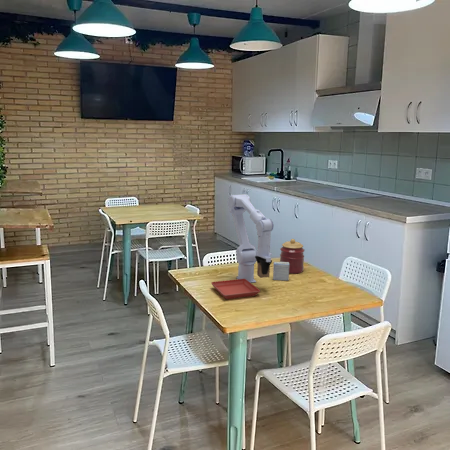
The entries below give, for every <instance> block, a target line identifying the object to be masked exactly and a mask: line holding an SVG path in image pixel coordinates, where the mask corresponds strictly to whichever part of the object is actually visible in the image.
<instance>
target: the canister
mask: <svg viewBox="0 0 450 450" xmlns="http://www.w3.org/2000/svg"><path fill="white" fill-rule="evenodd" d="M303 247H304V245H303V244H302V243H301V242H298V241H296V239H294V238H291V239H290V240H289V241H288V240H287V241H285V242H283V243H282V244H281V247H280V248H279V249H280V254H279V256H280V257H279V262H289V274H301V273H303V271H304V268H305V267H304V262H305V261H304V259H305V254H304V252H305V249H304V248H303Z"/></svg>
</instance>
